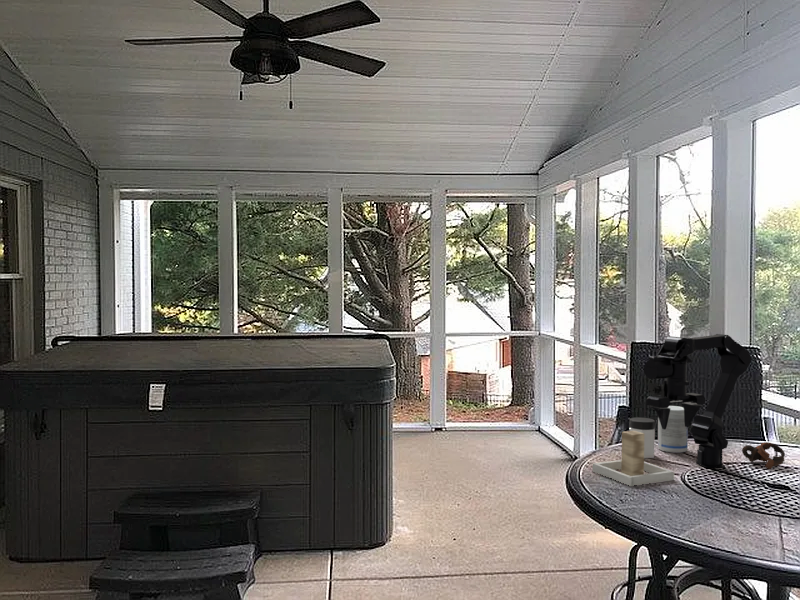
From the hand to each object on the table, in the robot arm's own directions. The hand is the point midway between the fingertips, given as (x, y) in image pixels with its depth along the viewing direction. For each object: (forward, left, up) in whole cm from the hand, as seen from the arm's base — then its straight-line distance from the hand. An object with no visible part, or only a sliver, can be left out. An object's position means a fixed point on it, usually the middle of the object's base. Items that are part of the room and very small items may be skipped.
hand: (675, 428), depth 213 cm
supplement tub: (-12, -24, -13) cm, 30 cm away
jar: (+2, -18, -13) cm, 22 cm away
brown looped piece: (-31, -3, -13) cm, 34 cm away
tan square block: (+16, +5, -13) cm, 21 cm away
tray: (+16, +5, -13) cm, 21 cm away
